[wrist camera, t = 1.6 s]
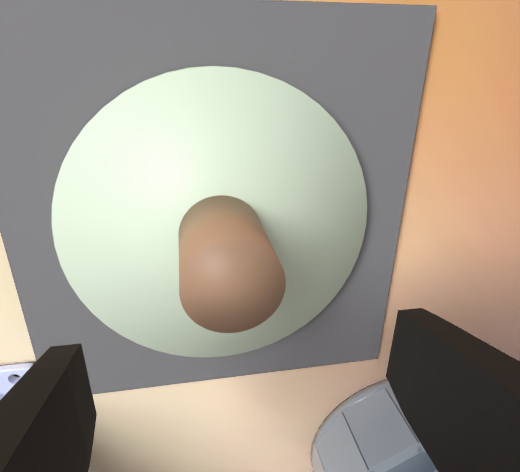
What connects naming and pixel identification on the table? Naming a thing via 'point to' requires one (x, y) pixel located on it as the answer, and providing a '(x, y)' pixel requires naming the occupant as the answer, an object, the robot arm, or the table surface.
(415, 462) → the bowl
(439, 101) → the table surface
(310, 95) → the mat
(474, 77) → the table surface
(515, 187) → the table surface
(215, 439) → the table surface
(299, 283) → the lid
